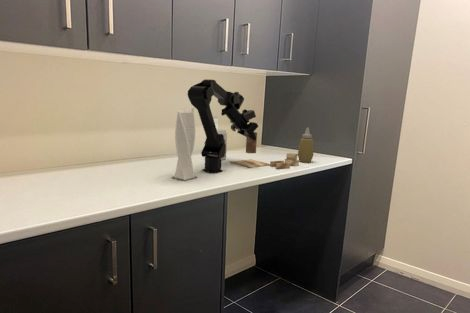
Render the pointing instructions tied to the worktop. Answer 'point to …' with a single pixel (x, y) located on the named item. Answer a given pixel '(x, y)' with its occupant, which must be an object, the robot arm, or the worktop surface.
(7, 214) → the worktop surface
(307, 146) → the squeeze bottle
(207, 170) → the robot arm
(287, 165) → the oak rack
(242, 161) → the striped wooden board
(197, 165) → the worktop surface
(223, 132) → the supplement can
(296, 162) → the pine offcut lower
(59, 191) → the worktop surface
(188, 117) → the skyscraper
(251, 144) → the brown wooden block
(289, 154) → the pine offcut upper
